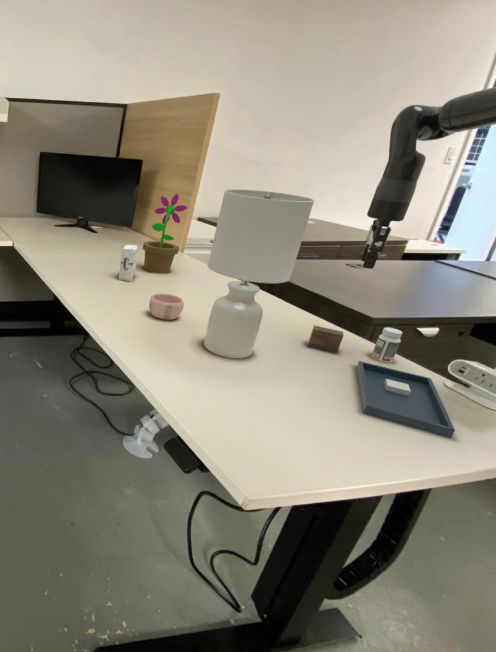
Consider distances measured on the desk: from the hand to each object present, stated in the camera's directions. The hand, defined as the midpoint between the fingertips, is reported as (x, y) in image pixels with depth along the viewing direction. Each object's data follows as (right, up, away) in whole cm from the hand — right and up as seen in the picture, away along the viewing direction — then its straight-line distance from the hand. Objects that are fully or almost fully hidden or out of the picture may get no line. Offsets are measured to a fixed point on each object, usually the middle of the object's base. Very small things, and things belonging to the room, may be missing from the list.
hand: (366, 264), depth 118 cm
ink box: (-49, +5, +59) cm, 77 cm away
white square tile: (-1, -31, -11) cm, 33 cm away
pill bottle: (+8, -24, +5) cm, 26 cm away
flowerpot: (-34, +10, +73) cm, 81 cm away
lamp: (-34, -22, +4) cm, 41 cm away
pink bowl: (-45, -12, +24) cm, 53 cm away
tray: (-4, -32, -14) cm, 36 cm away
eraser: (-6, -22, +9) cm, 24 cm away
